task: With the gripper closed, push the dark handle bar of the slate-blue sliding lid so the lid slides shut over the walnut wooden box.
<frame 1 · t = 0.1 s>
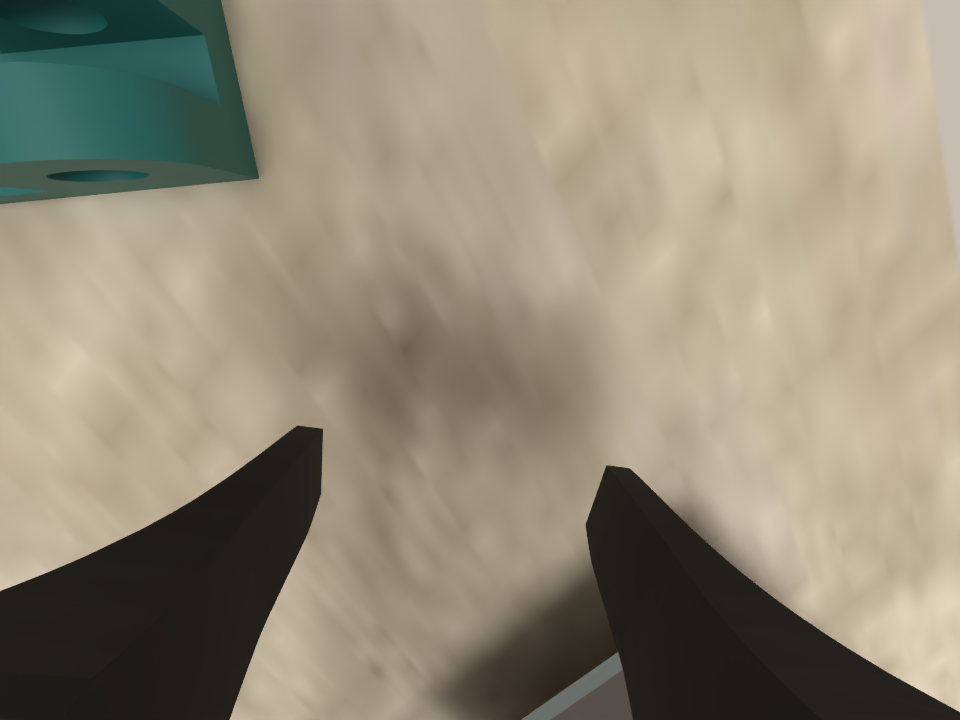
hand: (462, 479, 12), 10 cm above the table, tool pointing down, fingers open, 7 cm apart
bracket: (20, 112, 19), on the table
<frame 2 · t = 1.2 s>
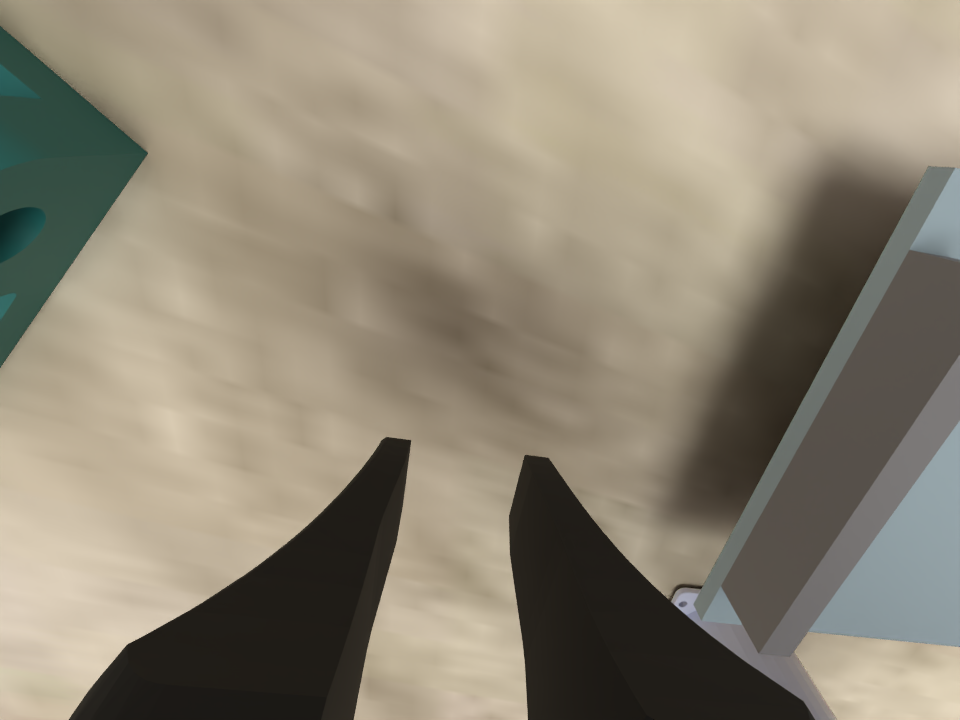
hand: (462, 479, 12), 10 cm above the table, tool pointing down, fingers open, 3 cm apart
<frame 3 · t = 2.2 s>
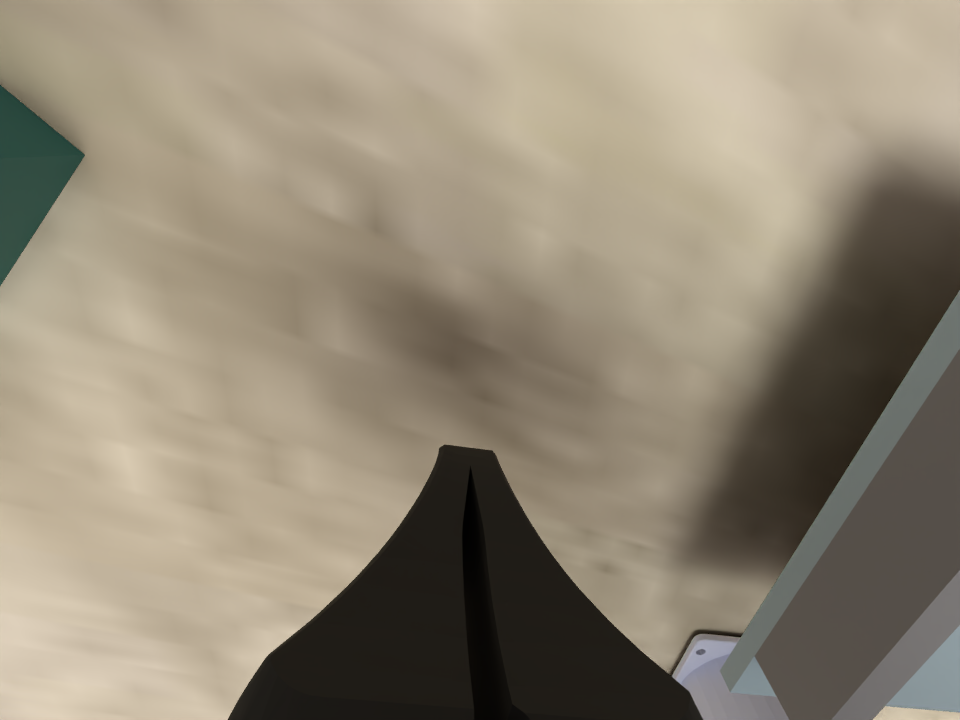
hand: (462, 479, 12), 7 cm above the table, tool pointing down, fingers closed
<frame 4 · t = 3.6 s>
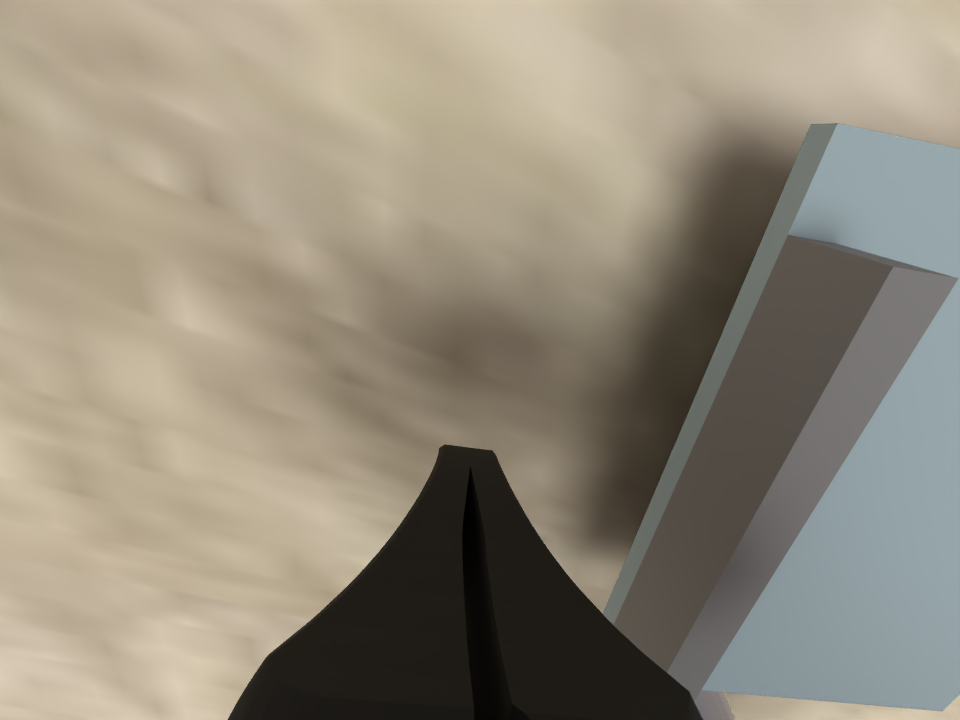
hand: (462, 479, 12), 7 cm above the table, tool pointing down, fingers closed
lid: (937, 540, 13), point 7 cm above the table, slide at 7.0 cm
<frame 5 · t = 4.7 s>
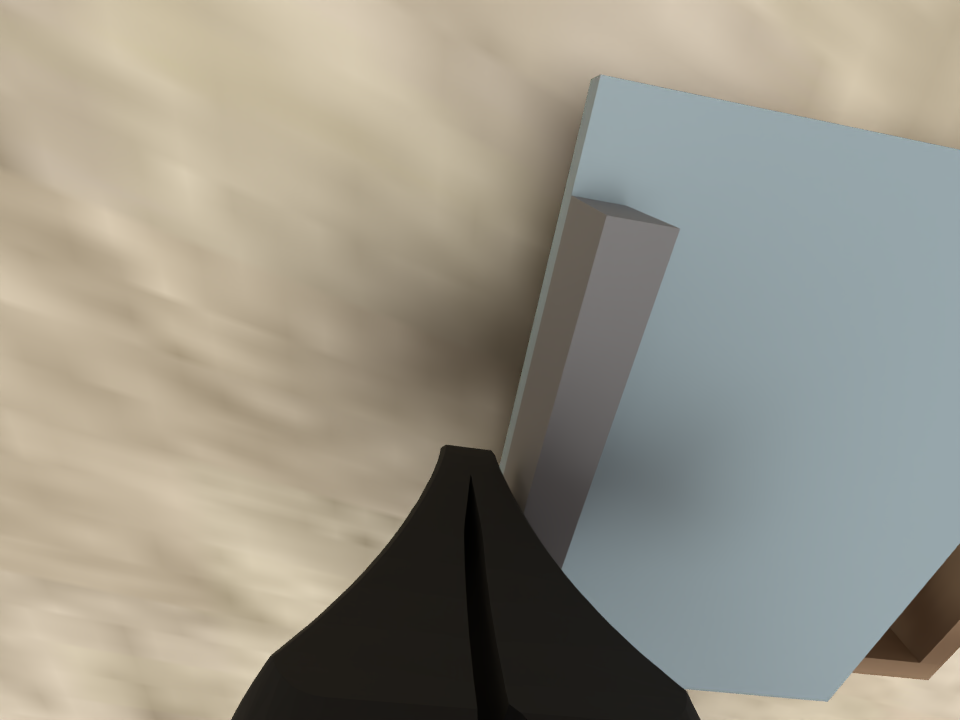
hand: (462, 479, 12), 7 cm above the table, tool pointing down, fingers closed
box: (794, 408, 19), on the table
lid: (773, 520, 12), point 7 cm above the table, slide at 5.4 cm, touching gripper
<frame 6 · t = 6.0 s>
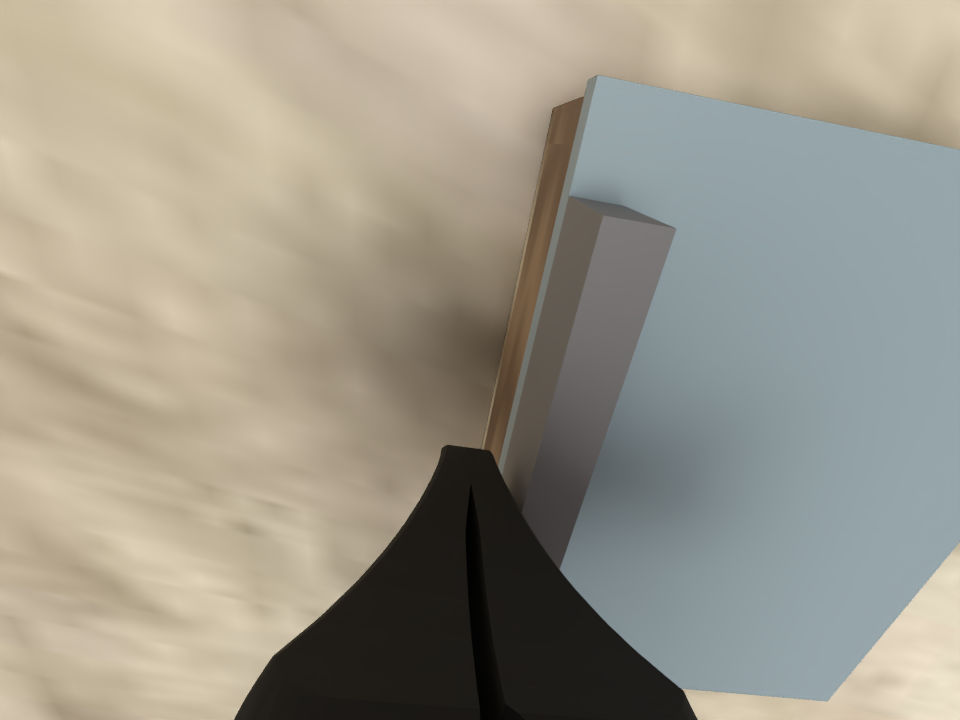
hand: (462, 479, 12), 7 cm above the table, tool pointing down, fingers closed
box: (668, 390, 19), on the table
lid: (771, 520, 12), point 7 cm above the table, slide at 0.0 cm, touching gripper
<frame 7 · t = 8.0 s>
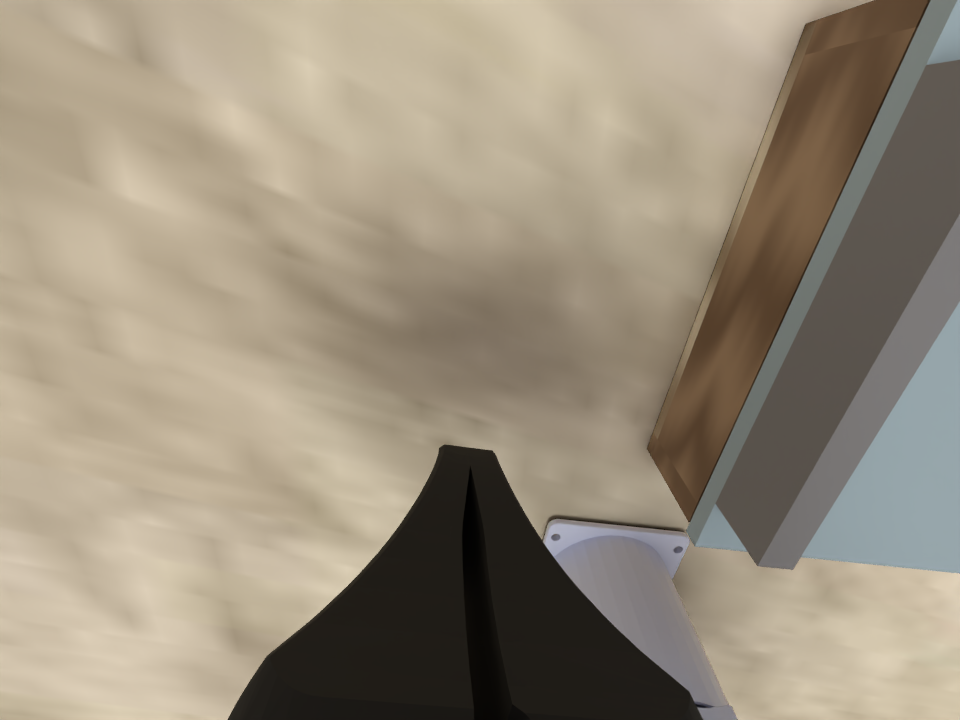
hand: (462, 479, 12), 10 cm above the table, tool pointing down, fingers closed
box: (862, 300, 20), on the table
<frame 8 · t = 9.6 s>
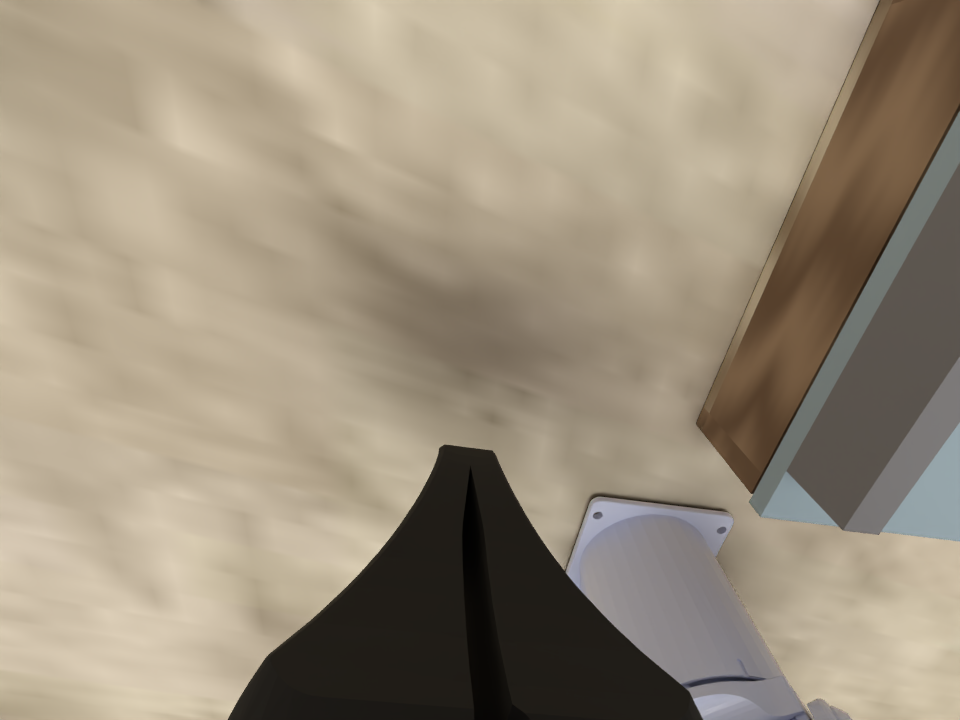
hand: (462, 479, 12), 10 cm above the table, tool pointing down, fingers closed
box: (927, 269, 20), on the table
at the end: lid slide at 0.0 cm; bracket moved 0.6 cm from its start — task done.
